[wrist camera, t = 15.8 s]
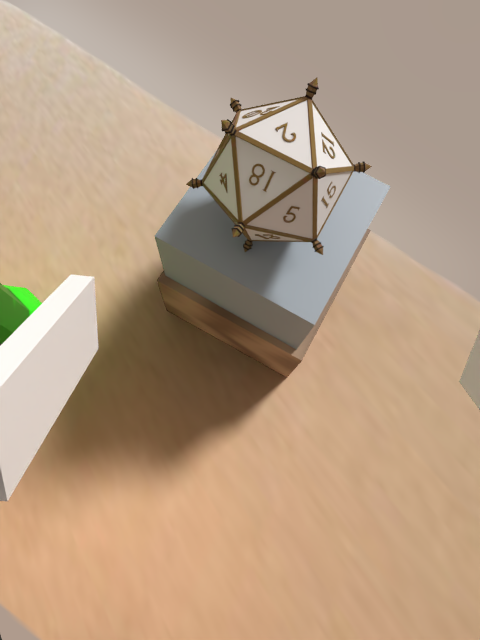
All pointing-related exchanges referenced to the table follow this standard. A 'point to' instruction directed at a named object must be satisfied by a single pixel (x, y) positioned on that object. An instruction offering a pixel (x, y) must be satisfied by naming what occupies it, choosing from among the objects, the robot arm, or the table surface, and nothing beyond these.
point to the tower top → (265, 259)
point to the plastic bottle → (15, 309)
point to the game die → (278, 171)
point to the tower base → (242, 323)
